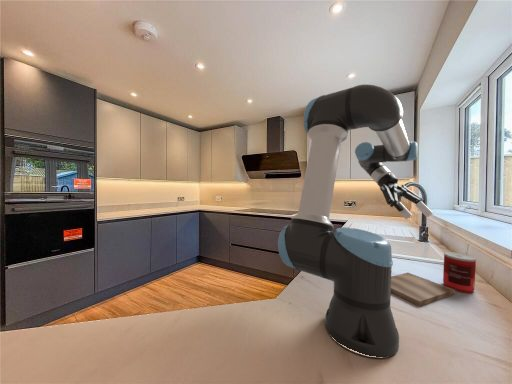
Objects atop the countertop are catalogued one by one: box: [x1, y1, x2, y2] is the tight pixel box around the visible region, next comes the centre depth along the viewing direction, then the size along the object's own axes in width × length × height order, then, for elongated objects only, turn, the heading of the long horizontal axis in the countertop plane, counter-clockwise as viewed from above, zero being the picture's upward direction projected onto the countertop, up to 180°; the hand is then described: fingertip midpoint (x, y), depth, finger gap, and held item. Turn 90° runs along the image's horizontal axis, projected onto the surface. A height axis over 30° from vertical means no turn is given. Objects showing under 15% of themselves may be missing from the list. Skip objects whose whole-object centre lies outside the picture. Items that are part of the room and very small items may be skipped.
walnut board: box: [391, 272, 456, 307], centre depth 69 cm, size 18×14×2 cm
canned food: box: [442, 251, 477, 294], centre depth 71 cm, size 8×8×11 cm
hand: (420, 216), depth 82 cm, fingers open, 13 cm apart
